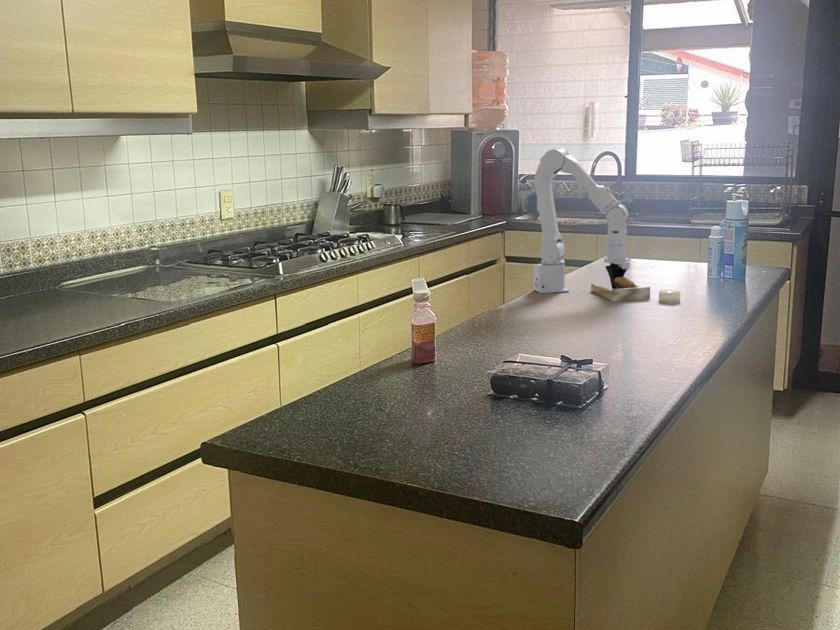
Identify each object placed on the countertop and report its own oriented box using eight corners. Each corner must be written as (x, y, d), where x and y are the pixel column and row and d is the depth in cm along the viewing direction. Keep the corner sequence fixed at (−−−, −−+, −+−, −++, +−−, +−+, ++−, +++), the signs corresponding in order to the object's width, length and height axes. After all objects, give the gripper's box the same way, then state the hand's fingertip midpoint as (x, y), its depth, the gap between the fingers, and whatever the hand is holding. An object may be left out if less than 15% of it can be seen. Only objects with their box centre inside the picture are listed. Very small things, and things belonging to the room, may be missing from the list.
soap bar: (664, 304, 246) (664, 294, 245) (655, 300, 251) (655, 290, 251) (683, 302, 247) (684, 292, 246) (674, 298, 252) (674, 288, 252)
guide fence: (613, 301, 251) (613, 289, 250) (591, 291, 267) (591, 280, 267) (649, 298, 253) (650, 287, 252) (625, 288, 269) (626, 277, 269)
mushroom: (604, 287, 255) (616, 270, 255) (608, 292, 263) (620, 275, 262) (627, 301, 252) (639, 284, 252) (630, 306, 260) (642, 289, 259)
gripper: (639, 247, 253) (638, 292, 256) (619, 241, 267) (618, 283, 270) (617, 248, 252) (616, 293, 255) (598, 242, 266) (597, 285, 269)
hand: (616, 288), depth 263 cm, fingers closed
